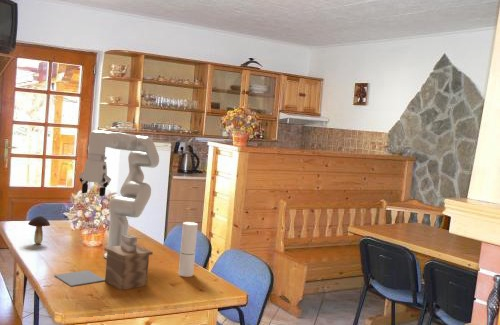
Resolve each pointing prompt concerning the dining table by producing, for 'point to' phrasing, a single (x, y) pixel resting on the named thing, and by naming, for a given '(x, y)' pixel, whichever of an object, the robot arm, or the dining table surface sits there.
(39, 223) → the decorative mushroom
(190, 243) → the cylindrical container
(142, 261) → the box
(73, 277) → the mat
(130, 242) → the lid
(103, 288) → the dining table surface
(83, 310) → the dining table surface
